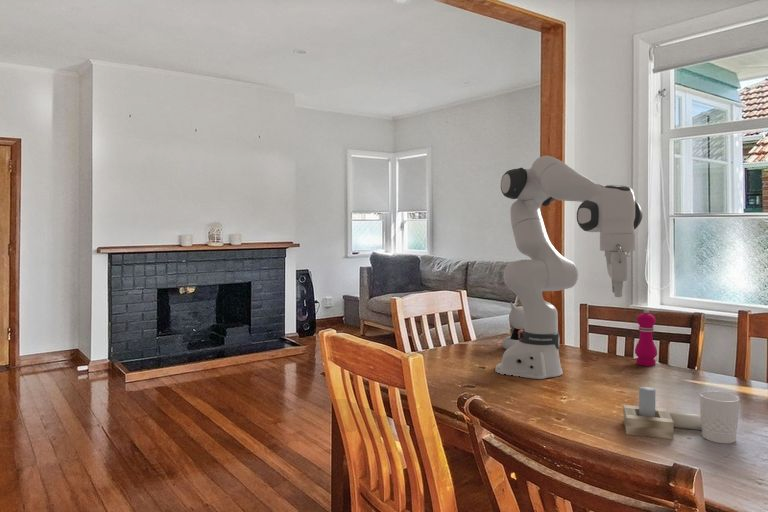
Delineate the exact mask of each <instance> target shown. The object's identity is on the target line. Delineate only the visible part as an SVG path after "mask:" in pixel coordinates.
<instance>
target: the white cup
mask: <svg viewBox="0 0 768 512" xmlns="http://www.w3.org/2000/svg"><path fill="white" fill-rule="evenodd" d="M699 409H700V410H699V411H700V412H699V413H700V414H699V415H700V416H701V425H702V430H701V436H702V437H703V439H706V440H707V441H711V442H714V443H718V444H719V443H720V444H733V443H736V441H737V430H738V422H739V412H740V411H739V410H740V398H739V396H737V395H735V394H732V393H728V392H724V391H715V390H709V391H708V390H706V391H701V392H700V393H699Z"/></svg>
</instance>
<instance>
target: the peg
mask: <svg viewBox="0 0 768 512" xmlns="http://www.w3.org/2000/svg"><path fill="white" fill-rule="evenodd" d="M656 391H657V390H656V388H653V387H649V386H640V387H639V388H638V406H639V416H646V417H655V408H656Z"/></svg>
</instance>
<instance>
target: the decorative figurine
mask: <svg viewBox="0 0 768 512" xmlns="http://www.w3.org/2000/svg"><path fill="white" fill-rule="evenodd" d="M510 306H511V310H510V312H509V314H508V322H509V324H510V325H511V326H512V327H513V331H512V333H511V335H510V336H509V335H508V336H506V337H505V338H504V339H503V340H502V341H501V342H502V347H503V349H505V351H506V350H507V349H508V348H510V347H511V346H512V345H514V344H515V343H517V342H518V341H519V340H518V331H519V330H521V329H522V330H524V312H523V307H522V305H520V306H519V305H518V306H516V305H515V304H514V303H513V302H512V301H510Z"/></svg>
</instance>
